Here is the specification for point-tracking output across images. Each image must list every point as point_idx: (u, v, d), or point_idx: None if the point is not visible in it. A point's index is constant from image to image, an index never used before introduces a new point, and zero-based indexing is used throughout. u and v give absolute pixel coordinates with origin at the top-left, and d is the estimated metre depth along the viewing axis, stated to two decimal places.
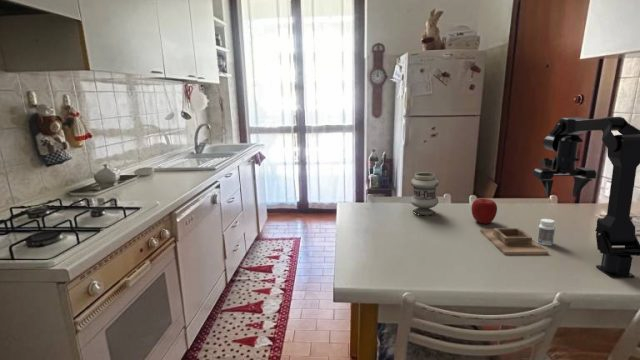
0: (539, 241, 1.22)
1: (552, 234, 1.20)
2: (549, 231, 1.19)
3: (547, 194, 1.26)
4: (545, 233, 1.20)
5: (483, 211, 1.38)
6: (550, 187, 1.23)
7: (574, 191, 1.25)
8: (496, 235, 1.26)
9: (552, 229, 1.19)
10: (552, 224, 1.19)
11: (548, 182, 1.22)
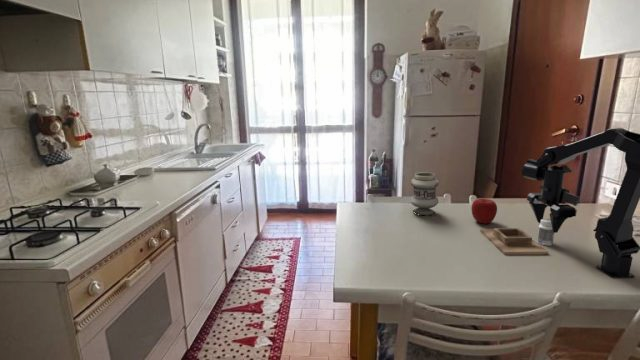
0: (539, 241, 1.22)
1: (552, 234, 1.20)
2: (549, 231, 1.19)
3: None
4: (545, 233, 1.20)
5: (483, 211, 1.38)
6: (534, 211, 1.25)
7: None
8: (496, 235, 1.26)
9: (552, 229, 1.19)
10: None
11: None
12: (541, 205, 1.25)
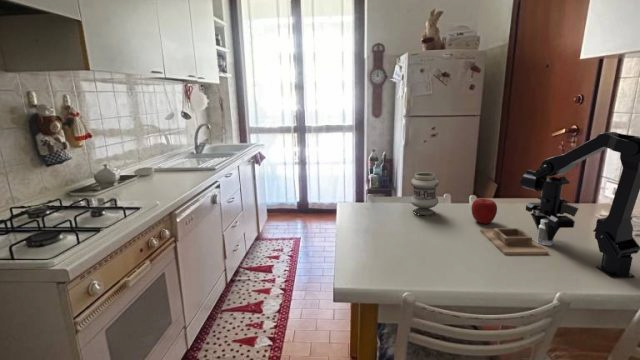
0: (539, 241, 1.22)
1: None
2: None
3: None
4: (545, 233, 1.20)
5: (483, 211, 1.38)
6: (535, 223, 1.24)
7: None
8: (496, 235, 1.26)
9: None
10: None
11: (532, 216, 1.25)
12: (542, 217, 1.24)
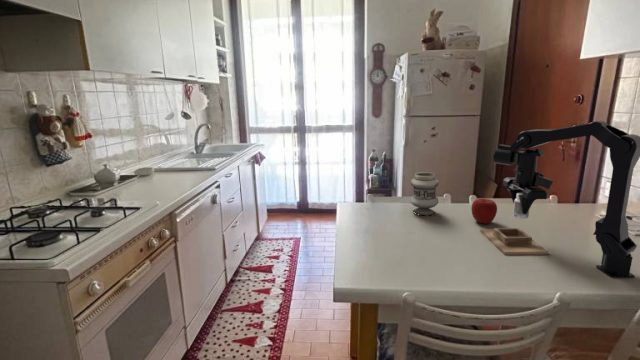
0: (514, 215, 1.21)
1: None
2: None
3: None
4: (520, 207, 1.19)
5: (483, 211, 1.38)
6: (512, 197, 1.24)
7: None
8: (496, 235, 1.26)
9: None
10: None
11: None
12: (518, 190, 1.23)
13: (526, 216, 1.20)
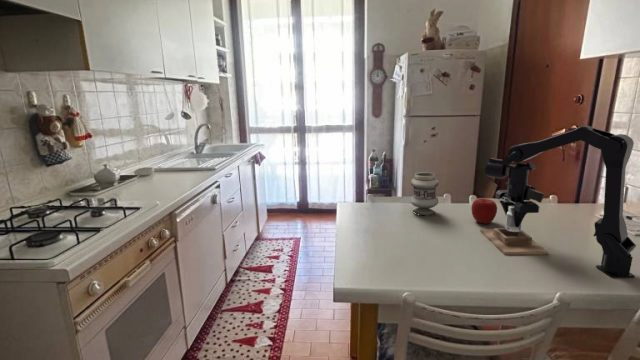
0: (507, 228, 1.22)
1: None
2: None
3: None
4: (513, 220, 1.20)
5: (483, 211, 1.38)
6: (504, 210, 1.25)
7: None
8: (496, 235, 1.26)
9: None
10: None
11: (501, 203, 1.26)
12: (511, 203, 1.24)
13: (518, 229, 1.21)
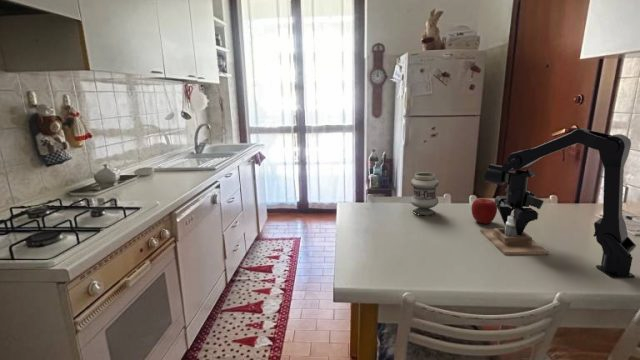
0: None
1: None
2: None
3: None
4: (512, 230, 1.21)
5: (483, 211, 1.38)
6: (501, 214, 1.27)
7: None
8: (496, 235, 1.26)
9: None
10: None
11: None
12: (507, 208, 1.27)
13: None
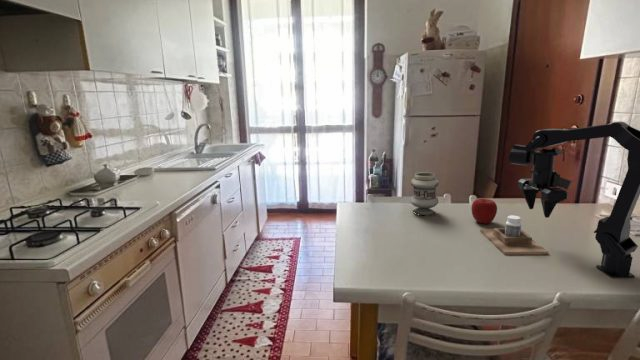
0: None
1: (518, 230, 1.21)
2: (515, 227, 1.21)
3: None
4: (512, 230, 1.21)
5: (483, 211, 1.38)
6: (525, 197, 1.22)
7: None
8: (496, 235, 1.26)
9: (518, 225, 1.20)
10: (518, 221, 1.20)
11: None
12: (532, 190, 1.21)
13: None
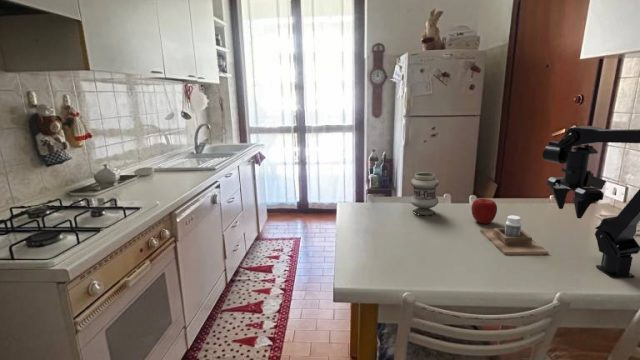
0: None
1: (518, 230, 1.21)
2: (515, 227, 1.21)
3: None
4: (512, 230, 1.21)
5: (483, 211, 1.38)
6: (555, 196, 1.18)
7: None
8: (496, 235, 1.26)
9: (518, 225, 1.20)
10: (518, 221, 1.20)
11: (551, 190, 1.19)
12: (562, 189, 1.17)
13: None
